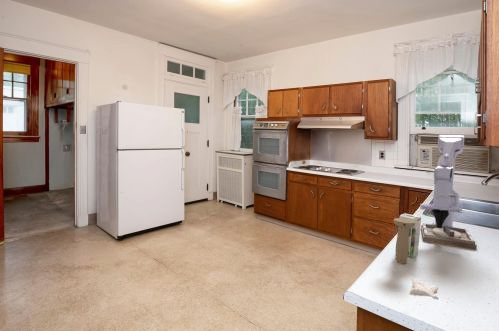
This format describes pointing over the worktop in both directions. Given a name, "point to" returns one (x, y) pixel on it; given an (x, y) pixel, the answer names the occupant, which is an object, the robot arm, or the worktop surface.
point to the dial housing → (463, 241)
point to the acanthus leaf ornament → (423, 289)
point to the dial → (446, 232)
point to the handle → (403, 239)
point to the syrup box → (413, 233)
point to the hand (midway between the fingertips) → (438, 227)
